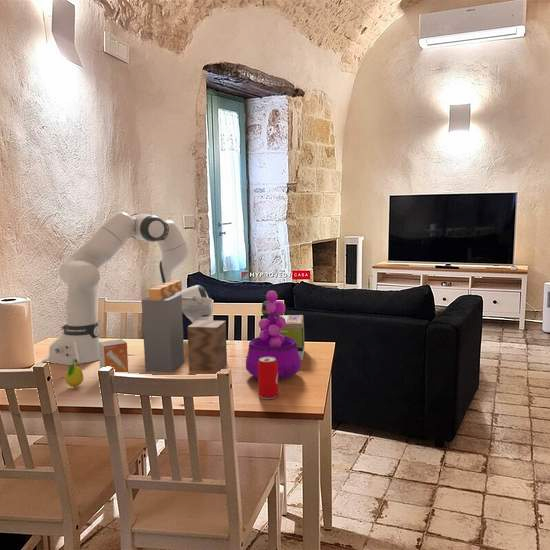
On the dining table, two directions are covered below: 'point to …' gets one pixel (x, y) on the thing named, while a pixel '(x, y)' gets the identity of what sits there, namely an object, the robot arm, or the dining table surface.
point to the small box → (114, 355)
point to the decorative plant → (273, 342)
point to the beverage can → (268, 377)
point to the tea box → (294, 331)
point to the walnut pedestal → (207, 345)
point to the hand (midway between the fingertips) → (183, 297)
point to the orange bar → (165, 290)
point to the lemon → (74, 375)
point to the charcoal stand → (163, 333)
